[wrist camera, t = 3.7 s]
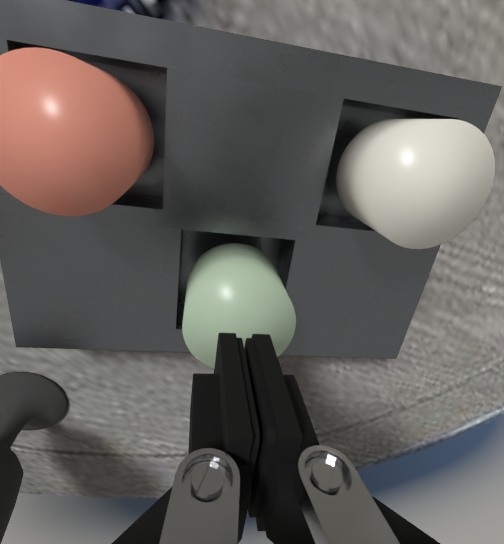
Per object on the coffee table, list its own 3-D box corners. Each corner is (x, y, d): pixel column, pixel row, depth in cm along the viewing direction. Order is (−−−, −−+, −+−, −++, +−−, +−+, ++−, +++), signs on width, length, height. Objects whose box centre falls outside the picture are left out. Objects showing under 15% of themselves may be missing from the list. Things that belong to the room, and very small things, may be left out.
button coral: (155, 78, 12) (137, 64, 9) (153, 198, 14) (137, 223, 11) (21, 55, 11) (-50, 31, 8) (37, 186, 13) (-17, 208, 10)
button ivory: (447, 127, 14) (516, 129, 11) (412, 226, 16) (464, 253, 13) (350, 111, 13) (395, 109, 10) (326, 217, 15) (357, 243, 12)
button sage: (285, 247, 15) (306, 280, 12) (270, 326, 17) (285, 373, 14) (190, 239, 15) (185, 271, 12) (184, 322, 16) (179, 371, 13)
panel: (446, 92, 17) (502, 86, 14) (369, 325, 22) (396, 358, 19) (9, 10, 13) (-51, -23, 10) (47, 309, 19) (16, 347, 16)
